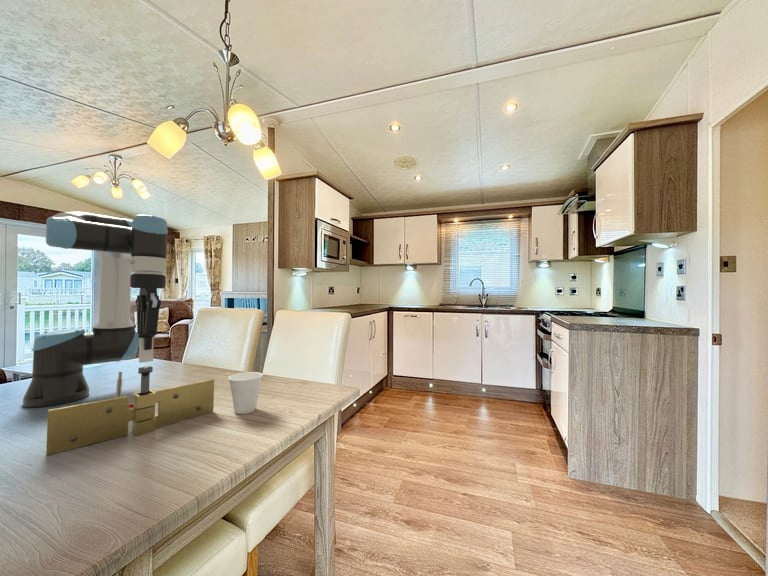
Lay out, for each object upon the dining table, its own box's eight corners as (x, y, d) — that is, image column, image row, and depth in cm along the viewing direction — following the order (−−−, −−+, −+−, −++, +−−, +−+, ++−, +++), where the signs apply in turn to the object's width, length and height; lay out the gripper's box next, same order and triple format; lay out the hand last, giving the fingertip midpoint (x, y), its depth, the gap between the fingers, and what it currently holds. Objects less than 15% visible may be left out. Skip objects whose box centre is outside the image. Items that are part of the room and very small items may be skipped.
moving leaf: (47, 450, 68) (48, 408, 69) (151, 425, 82) (152, 389, 82) (45, 457, 66) (47, 413, 66) (154, 430, 79) (155, 393, 80)
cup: (222, 410, 94) (223, 375, 94) (254, 402, 101) (254, 370, 101) (234, 420, 87) (235, 382, 87) (267, 410, 94) (268, 375, 94)
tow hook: (132, 405, 98) (101, 415, 89) (135, 365, 99) (105, 371, 90) (154, 407, 97) (126, 418, 87) (157, 367, 97) (129, 373, 88)
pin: (135, 408, 79) (137, 367, 79) (149, 405, 82) (150, 365, 82) (138, 411, 77) (140, 369, 78) (152, 408, 80) (154, 367, 80)
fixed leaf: (132, 431, 79) (133, 393, 79) (209, 409, 94) (210, 378, 94) (136, 435, 77) (137, 396, 77) (215, 413, 92) (216, 380, 92)
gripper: (124, 273, 81) (121, 360, 81) (137, 271, 73) (134, 368, 73) (158, 275, 87) (155, 356, 87) (173, 273, 79) (170, 362, 79)
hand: (146, 361), depth 80 cm, fingers closed
